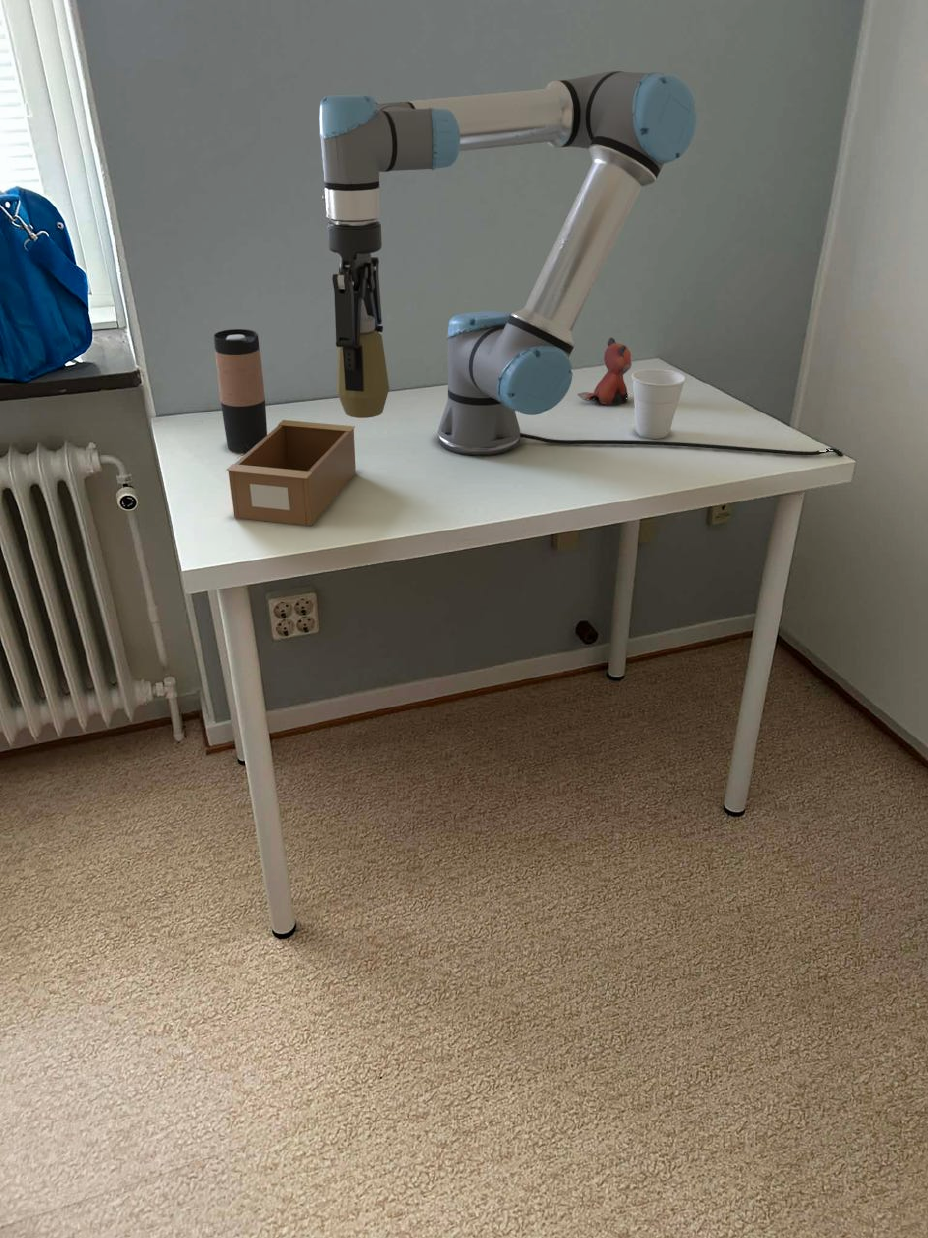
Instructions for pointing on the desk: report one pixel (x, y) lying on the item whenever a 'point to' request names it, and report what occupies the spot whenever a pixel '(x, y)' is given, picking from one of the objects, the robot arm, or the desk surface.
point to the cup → (656, 400)
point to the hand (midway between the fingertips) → (362, 382)
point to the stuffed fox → (612, 376)
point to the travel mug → (241, 388)
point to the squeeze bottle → (365, 373)
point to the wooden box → (293, 473)
